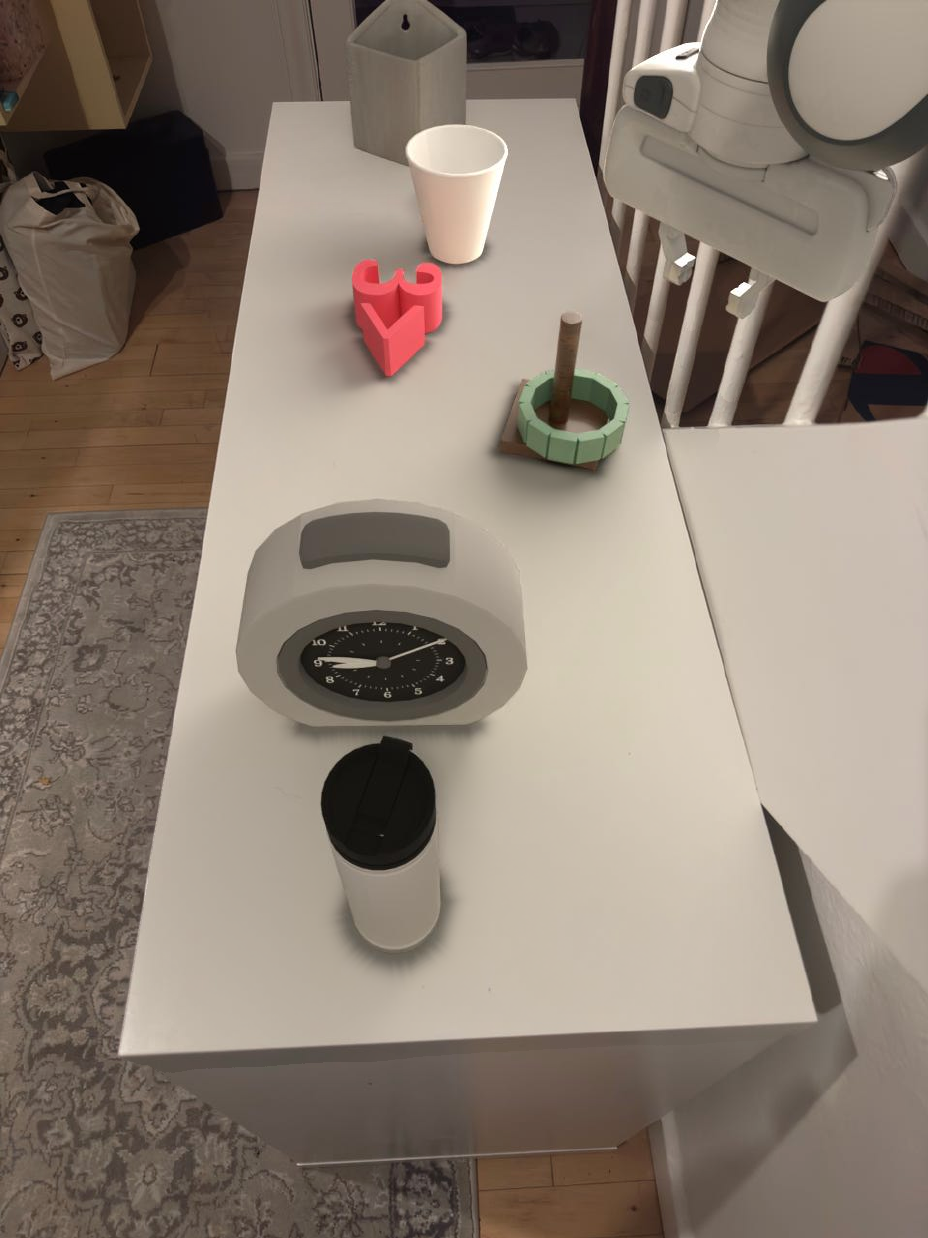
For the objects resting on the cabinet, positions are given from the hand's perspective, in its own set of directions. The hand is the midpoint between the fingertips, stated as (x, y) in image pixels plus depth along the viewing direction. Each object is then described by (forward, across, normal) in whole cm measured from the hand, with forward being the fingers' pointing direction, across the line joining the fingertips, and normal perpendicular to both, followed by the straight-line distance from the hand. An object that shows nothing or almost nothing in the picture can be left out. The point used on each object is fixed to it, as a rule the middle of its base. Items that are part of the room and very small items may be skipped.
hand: (706, 295), depth 66 cm
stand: (+23, +14, -2) cm, 27 cm away
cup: (+23, +44, -17) cm, 53 cm away
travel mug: (+23, -12, +44) cm, 51 cm away
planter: (+23, +65, -29) cm, 75 cm away
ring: (+22, +12, -1) cm, 25 cm away
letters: (+23, +37, 0) cm, 43 cm away
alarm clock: (+23, +2, +32) cm, 40 cm away
